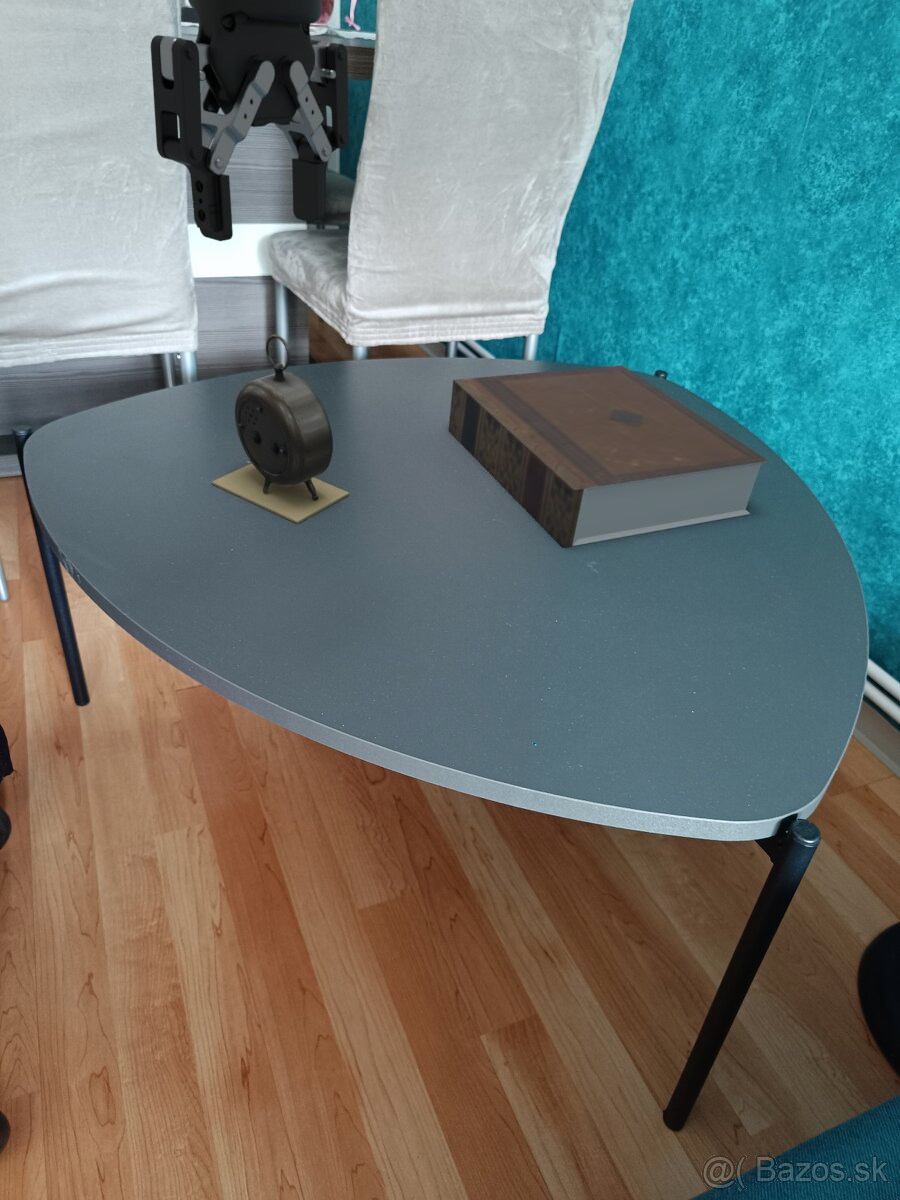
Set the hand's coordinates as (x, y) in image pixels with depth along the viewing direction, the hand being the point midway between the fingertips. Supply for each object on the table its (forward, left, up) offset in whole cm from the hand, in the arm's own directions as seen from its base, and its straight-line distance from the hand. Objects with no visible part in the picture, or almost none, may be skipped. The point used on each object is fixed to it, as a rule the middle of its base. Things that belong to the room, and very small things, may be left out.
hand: (264, 228), depth 55 cm
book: (+42, -10, -30) cm, 53 cm away
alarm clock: (+14, +13, -30) cm, 35 cm away
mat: (+14, +13, -30) cm, 36 cm away
